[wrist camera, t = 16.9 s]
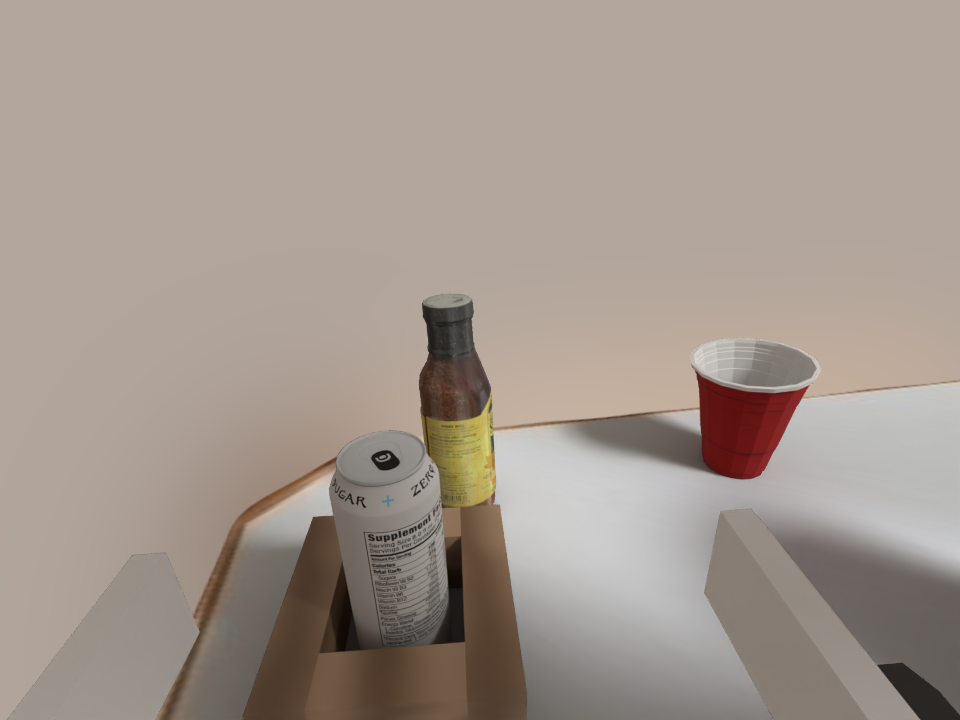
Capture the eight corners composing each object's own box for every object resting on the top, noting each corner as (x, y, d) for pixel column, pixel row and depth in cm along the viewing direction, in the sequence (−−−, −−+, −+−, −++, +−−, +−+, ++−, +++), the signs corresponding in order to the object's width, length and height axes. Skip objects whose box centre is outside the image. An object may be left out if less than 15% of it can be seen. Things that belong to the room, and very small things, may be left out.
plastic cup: (654, 443, 55) (667, 343, 50) (737, 427, 57) (758, 330, 52) (721, 507, 45) (746, 391, 40) (818, 485, 47) (852, 372, 42)
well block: (500, 563, 40) (499, 504, 37) (525, 762, 27) (526, 693, 25) (326, 575, 39) (313, 516, 37) (267, 785, 27) (242, 716, 24)
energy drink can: (426, 589, 37) (407, 414, 30) (469, 652, 32) (457, 462, 26) (348, 631, 34) (310, 447, 28) (382, 707, 29) (346, 507, 23)
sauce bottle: (509, 507, 46) (507, 303, 38) (450, 534, 43) (434, 319, 35) (473, 471, 51) (464, 284, 43) (418, 493, 48) (397, 297, 40)
